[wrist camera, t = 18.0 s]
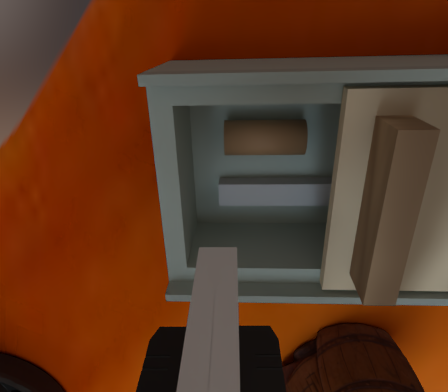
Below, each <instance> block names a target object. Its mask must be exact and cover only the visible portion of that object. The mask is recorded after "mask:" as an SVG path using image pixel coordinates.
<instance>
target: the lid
mask: <svg viewBox="0 0 448 392" xmlns="http://www.w3.org/2000/svg"><path fill="white" fill-rule="evenodd" d="M319 281H320V284H321V287H322V290H357V293H358V295H359V297H360V300H361V302H362V304H363V305H371V306H396V302H397V298H398V294H399V291H448V84H442V85H386V86H343V94H342V102H341V110H340V118H339V126H338V134H337V142H336V151H335V159H334V167H333V175H332V183H331V191H330V199H329V207H328V215H327V224H326V232H325V240H324V248H323V256H322V264H321V272H320V280H319Z"/></svg>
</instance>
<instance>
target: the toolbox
mask: <svg viewBox="0 0 448 392" xmlns="http://www.w3.org/2000/svg"><path fill="white" fill-rule="evenodd" d="M137 79H138V86H139V87H146V92H147V100H148V109H149V117H150V125H151V134H152V142H153V151H154V159H155V167H156V176H157V184H158V192H159V201H160V209H161V217H162V226H163V234H164V243H165V251H166V259H167V268H168V276H169V284H168V287H167V291H166V294H165V296H166V301H190V302H191V295H192V289H193V283H194V276H195V270H196V263H197V257H198V251H199V247H237V268H238V302H251V303H311V304H362V302H361V300H360V297H359V295H358V293H357V290H322V287H321V284H320V281H319V280H320V272H321V264H322V256H323V248H324V240H325V232H326V224H327V215H328V207H329V199H330V191H331V183H332V175H333V167H334V159H335V151H336V142H337V134H338V126H339V118H340V110H341V102H342V94H343V86H386V85H442V84H448V54H443V55H398V56H354V57H309V58H264V59H220V60H175V61H168V62H166V63H163V64H161V65H159V66H156V67H154V68H152V69H149V70H147V71H145V72H143V73H140V74H138V75H137ZM396 305H431V306H448V291H399V294H398V298H397V302H396Z"/></svg>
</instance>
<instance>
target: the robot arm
mask: <svg viewBox="0 0 448 392" xmlns="http://www.w3.org/2000/svg"><path fill="white" fill-rule="evenodd" d="M0 392H64V391H63V389H62V388H61V387H60V386H59V384H58V383H57V382H56V381H55V380H54V379H52V378H51V377H50V376H49V375H48V374H46V373H45V372H43V371H42V370H40V369H39V368H37V367H35V366H34V365H32V364H30V363H28V362H25V361H23V360H21V359H18V358H15V357H12V356H9V355H5V354H1V353H0ZM136 392H286V387H285V380H284V374H283V367H282V360H281V354H280V347H279V340H278V338H277V336H276V335H275V333H274V332H273V330H272V328H271V327H270V326H239V315H238V268H237V247H199V251H198V257H197V263H196V270H195V276H194V283H193V289H192V295H191V302H190V308H189V314H188V321H187V327H159V329H158V330H157V331H156V333H155V334H154V335H153V337H152V338H151V339H150V341H149V345H148V349H147V353H146V358H145V360H144V364H143V367H142V371H141V375H140V378H139V382H138V386H137V389H136Z"/></svg>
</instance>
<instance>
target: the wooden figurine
mask: <svg viewBox="0 0 448 392" xmlns="http://www.w3.org/2000/svg"><path fill="white" fill-rule="evenodd" d="M294 359H295V361H294V362H293V363H291V364H289V365H286V366H283V374H284V380H285V387H286V392H424V389H423V387H422V385H421V383H420V382H419V380H418V378H417V376H416V374H415V372H414V371H413V369H412V367H411V366H410V364H409V362H408V361H407V359H406V357H405V356H404V355H403V354H402V352H401V350H400V349H399V348H398V346H397V344H396V343H395V342H394V340H393V339H392V337H391V336H390V335H389V334H388V333H387V332H386V331H384V330H382V329H379V328H374V327H371V326H368V325H365V324H349V323H344V324H339V325H334V326H330V327H326V328H324V329H322V330H320V331H319V332H318V334H317V338H316V339H315V340H313V341H310V342H307V343H306V344H305V345H304V346H302V347H300V348H298V349H297V350H295V352H294Z"/></svg>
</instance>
